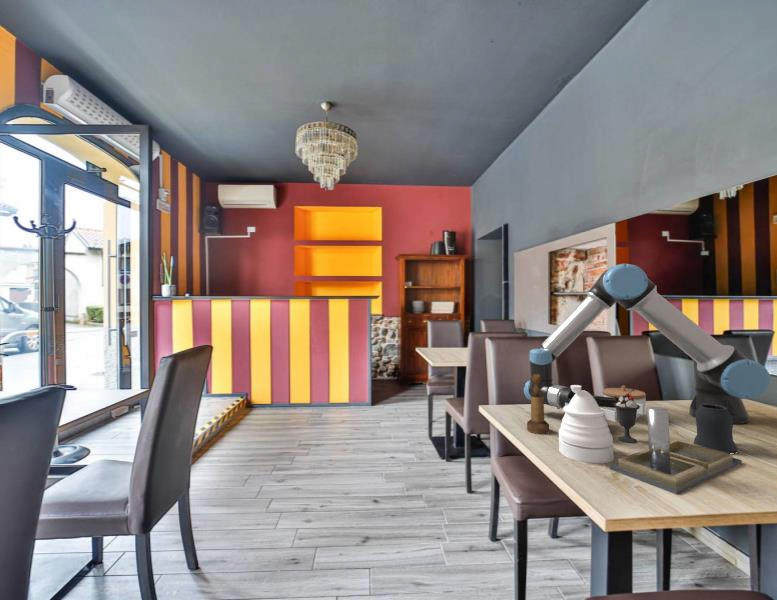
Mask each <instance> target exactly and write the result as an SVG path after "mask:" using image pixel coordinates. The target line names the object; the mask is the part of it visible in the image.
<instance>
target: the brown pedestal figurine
mask: <svg viewBox="0 0 777 600" xmlns="http://www.w3.org/2000/svg"><path fill="white" fill-rule="evenodd" d="M530 377H531V376H530ZM531 379H532V381H533V383H534V388H533V391H534V394H532V395H531V400H530V419H529V420H528V421H527V422H526V430H527V432H529V431H530V432H529V433H531V434H536V433H538V434H540V435H543V434H542V433H546V434H549V433H550V424H549V423H548V422H547V421H546V420H545V404H544V396H543V395H540V390H541V388H540V387H539V384H540V382H541V380H542V378H541V376H540V375H539V374H533V375H532V377H531ZM548 432H549V433H548ZM538 434H537V435H538Z"/></svg>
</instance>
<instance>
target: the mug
mask: <svg viewBox="0 0 777 600" xmlns="http://www.w3.org/2000/svg"><path fill="white" fill-rule="evenodd" d="M695 414H696V417H695V424H696V436H695V437H694V441H693V443H692V444H696V445H700V446H703V447H707V448H711V449H715V450H719V451H722V452H726V453H736V452H737V451H738V447H737V444H736V443H735V441H734V439H733V434H734V433H733V428H734V425H733V422H732V416H731V414H730V413H729V412H728V409H727V408H726V407H724V406H721V405H715V404H700V405H699V409H698V410H697V411H696V412H695ZM738 452H739V451H738Z"/></svg>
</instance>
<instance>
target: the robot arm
mask: <svg viewBox="0 0 777 600" xmlns="http://www.w3.org/2000/svg"><path fill="white" fill-rule="evenodd" d="M657 290H658V289H657V285H656V284H655V283H654V282H653V281H651V280H650V278H648V276H647V274H646V273H645V271H644V270H643V269H642V268H641V267H639V266H638V265H634V264H629V263H621V264H616V265H614V266H611V267H610V268H608V269H606V270H605V271H603V273H601V275H599V277H598V279H597V280H596V281H595V283H594V284H593V285H592V287H591V288H589V289H588V291H587V292H586V293H587V294H586V295H587V296H586V297H585V298H584V299H583V300H582V301H581V302H580V303H579V305H577V307H575V308H574V310H573V311H571V313H570V314H569V315H568V316H567V317H566V318H565V319H564V320H563V321H562V322H560V324H559V325H558V326H557V328H555V330H554V331H552V333H551V334H550V335H549V336H547V338H546V339H545V340H544V341H543V342H541V344H540V345H539V346H538V347H537V348H533V349H531V350H529V358H528V359H529V374H530V375H529V376H530V378H529V379H530V380H527V381H526V383H525V384H524V387H523V393H524V396H525V398H526V399H528V400H529V401H531V395H532V394H534V391H533V388H534V383H533V381H532V379H531V377H532V375H533V374H539V375H540V376H541V378H542V380H541V382H540V384H539V387H540V388H541V390H540V395H543V396H544V405H546V406H550V407H554V408H556V409H557V410H561V409H562V410H563V407H564V406H566V405H569V403H570V401H571V399H572V398H573V396H574V395H575V394H576V393H574V392H573V391H572V389H571V387H570V386H569V387H568V386H564V385H559V384H553V383H554V381H553V362H555V361H556V359H557V358H558V357H559V356H560V355H561V354H562V353H563V352H564V351H565V350H566V349H567V348H568V347H569V346H570V345H571V344H572V343H574V341H575V340H576V339H577V338H578V337H579V336H580V335H581V334H582V333H583V332H584V331H585V330H586V329H587V328H588V327H589V326H591V324H592V323H593V322H594V321H595V320H596V319H597V318H598V317H599V316H600V315H601V314H602V313H603V312H604V311H605V310H608V309H611V307H613V306H614V305H615V304H616V303H618V304H619V305H620V306H621V307H622V308H624V309H625V310H626V311H634V312H636V314H638V315H640V317H641V318H643V319H644V320H645V321H647V322H648V323H649V324H650V325H651V326H653V327H654V328H655V329H656V330H657V331H658V332H660V333H661V334H662V335H664V337H666V338H667V339H668V340H669V341H670V342H672V343H673V344H674V345H676V346H677V348H679V349H680V350H681V351H683V353H685V355H687V356H688V357H690V358H691V359H692V361H693V375H694V376H693V377H694V394H693V397H692V400H691V403H690V405H689V415H691V416H692V417H695V418H696V414H695V412H696V411H697V410H698V409H699V405H700V404H715V405H721V406H724V407H726V408H727V409H728V412H729V413H730V414H731V416H732V422H733V424H735V425H736V424H737V425H739V424H747V423H749V422H750V418H749V417H750V416H749V415H750V414H749V412H748V410H747V408H746V406H745V405H744V401H743V400H742V399H753V398H757V397H760V396H762V395H763V394H764V393H766V391H767V390H768V389H769V387H770V385H771V375H770V373H769V371H768V369H767V368H766V367H765V366H764V365H763V364H761V363H760V362H758V361H756V360H753V359H749V358H748V357H747V356H745V354H743V353H741V352H740V351H739V349H737V348H736V347H734V346H732V345H731V344H730V345H729V344H727V345H726V344H721V343H720V341H718V340H717V339H715V338H714V337H713V336H712V335H710V334H709V333H708V332H706V331H705V330H704V328H702V327H701V326H699V325H698V324H697V323H696V322H695V321H693V320H692V319H690V318H689V317H688V316H687V315H686V314H684V313H683V312H682V311H681V310H679V308H677V307H676V306H674V305H673V304H672V303H671V302H669V301H668V300H667V299H666V298H665V297H663V296H662V295H661V294H659V293H658V292H657ZM591 395H592V397H593V398H594V399H595V401H596V402H597V404H598V406H599V408H601V409H603V410H604V411H605V415H603V416H604V419H605V421H606V420H608V421H610V422H611V421H612V422H613V423H615V422H617V420H618V419H616V411H612V410H607V408H606V407H611V408H616V407H615V405H613V403H616V401H615V398H612V397H604V396H601V395H594V394H591ZM636 404H638V403H636ZM638 405H639V406H640V408H639V409H637V413H639V414H642V415H645V410H644V405H643V404H638Z"/></svg>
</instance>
